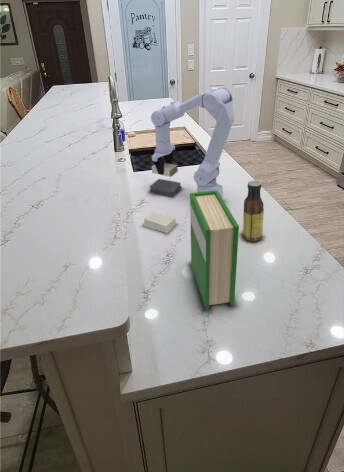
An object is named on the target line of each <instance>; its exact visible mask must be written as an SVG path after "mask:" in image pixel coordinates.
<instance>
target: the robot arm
mask: <svg viewBox="0 0 344 472" xmlns="http://www.w3.org/2000/svg"><path fill="white" fill-rule="evenodd" d="M234 99H235V98H234V96H233V94H232V93H231V91H230V89H228V88H227V87H223V86H222V87H219V88H217V89H211V90H209V91H205V92H202V93H199V94H197V95H195V96H193V97H191V98H189V99H187V100H185V101H183V102H181V101H177V100H173V101H170V104H168V105H166V106H165V105H164V106H161V109H157V110H154V111H153V112H152V113H151V115H150V120H151V122H152V124H153V125H154V135H155V136H154V137H155V149H154V150H153V151H154V153H153V154H152V155H151V162H152V163H153V165H155V166H156V168H157V171H158V174H157V175H160V176H164V175H163V174H164V164H165V163H168V164H173V162H174V158H175V156H176V154H177V153H176V151H175V150H176V146H175V144H171V129H170V128H171V122H173V121H175V120H177V119H180V118H183V117H184V115H185V114H186V112H187V111H189V110H191V109H194V108H196V107H199V108H201V109H203V108H204V109H205V111H207V112H208V113H209V114H210V115H211V117H212V118H213V119H214V120H215V121H216V123H215V126H214V129H213V132H212V135H211V138H210V141H209V144H208V146H207V149H206V152H205V155H204V159H203V160H202V161H201V163H200V165H199V166H198V169H197V170H196V171H194V173H193V180H194V183H195V184H196V187H197V188H196V193H197V192H206V191H215V190H217V191H218V192H219V194H220V196H221V197H222V198H223V195H224V194H223V192H224V189H223V187H224V186H223V185H222V184H219V183H218V182H217V178H218V176H219V175H220V165H221V163H220V162H219V161H220V159H221V156H222V154H223V152H224V151H223V150H224V148H225V145H226V143H227V140H228V137H229V134H230V132H231V129H232V126H233V123H234V121H235V113H234V101H235V100H234Z"/></svg>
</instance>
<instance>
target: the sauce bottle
mask: <svg viewBox="0 0 344 472" xmlns="http://www.w3.org/2000/svg"><path fill="white" fill-rule="evenodd" d="M261 190H262V182H260V181H258V180H249V181H248V182H247V196H246V197H245V198H244V200H243V215H242V217H243V218H242V219H243V220H242V221H243V223H242V225H243V226H242V234H243V238H244V239H245V240H247V241H249V242H259V241H260V240H261V239H262V237H263V230H264V212H265V211H264V205H265V204H264V201H263V199H262V197H261Z"/></svg>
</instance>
